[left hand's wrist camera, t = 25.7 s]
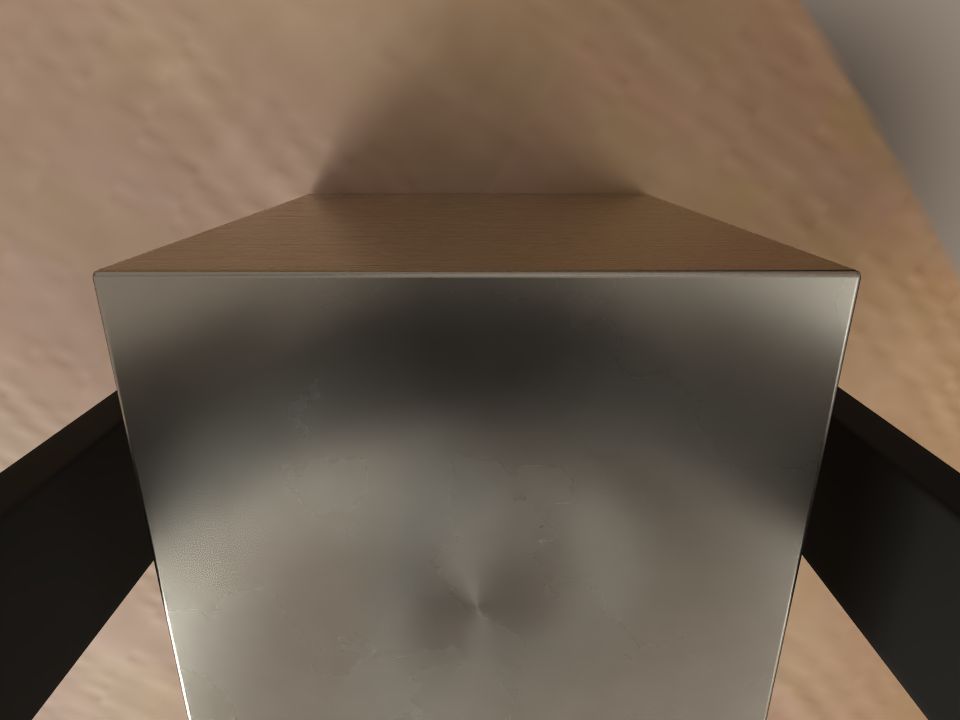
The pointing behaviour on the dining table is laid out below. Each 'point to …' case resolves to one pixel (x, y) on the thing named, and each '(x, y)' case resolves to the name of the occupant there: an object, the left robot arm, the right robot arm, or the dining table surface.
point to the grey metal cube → (477, 454)
